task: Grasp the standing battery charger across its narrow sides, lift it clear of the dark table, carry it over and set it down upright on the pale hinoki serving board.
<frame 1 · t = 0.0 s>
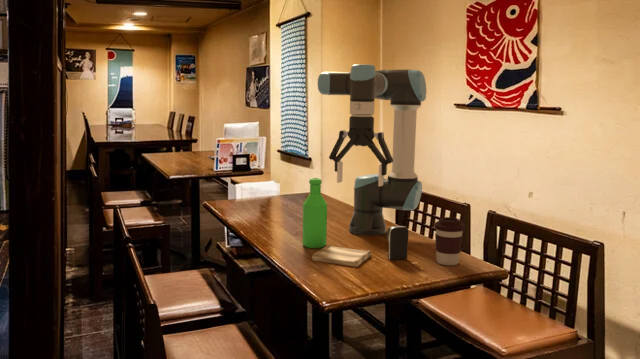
hand: (359, 184, 180), 28 cm above the table, fingers open, 13 cm apart
battery charger: (396, 258, 198), on the table
coffee cup: (447, 263, 194), on the table
bottle: (314, 246, 212), on the table
board: (341, 257, 197), on the table
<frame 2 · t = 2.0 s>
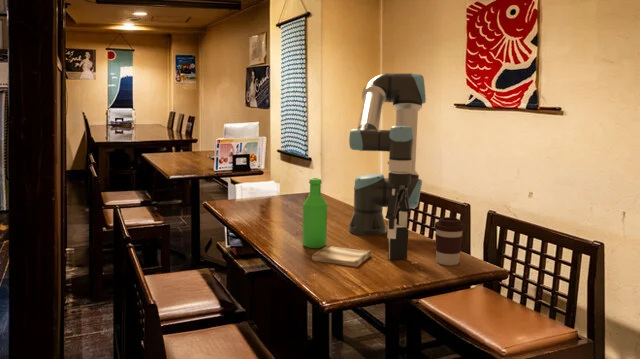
hand: (397, 234, 196), 9 cm above the table, fingers open, 13 cm apart
nothing on the table moved.
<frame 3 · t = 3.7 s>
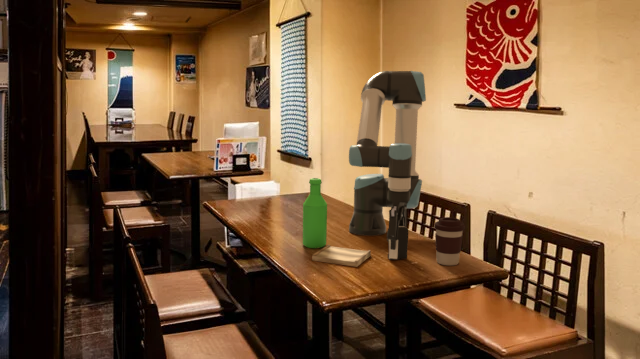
hand: (396, 255, 198), 1 cm above the table, fingers closed on battery charger, 7 cm apart
battery charger: (396, 258, 198), on the table, touching gripper
everything else where it was.
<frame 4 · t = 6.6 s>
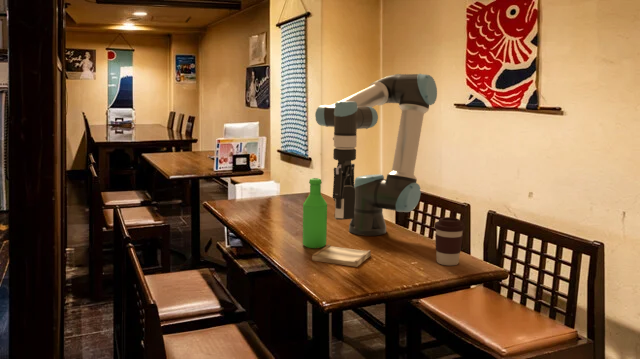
hand: (343, 215, 195), 15 cm above the table, fingers closed on battery charger, 7 cm apart
battery charger: (343, 219, 195), point 14 cm above the table, touching gripper
everything else where it was.
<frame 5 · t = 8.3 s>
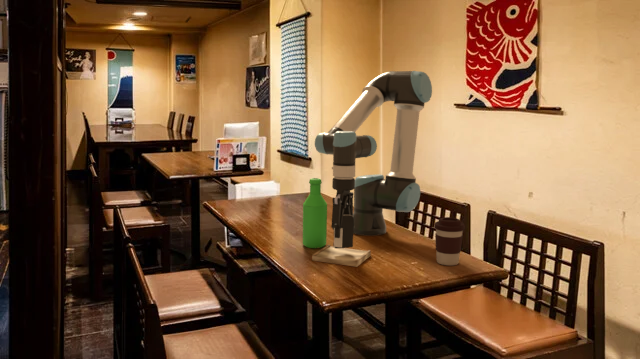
hand: (342, 244, 197), 5 cm above the table, fingers closed on battery charger, 7 cm apart
battery charger: (342, 247, 197), point 4 cm above the table, touching gripper
everything else where it was.
when the fingers open (3 cm above the table, at t = 9.4 s): battery charger stays where it is, resting on board.
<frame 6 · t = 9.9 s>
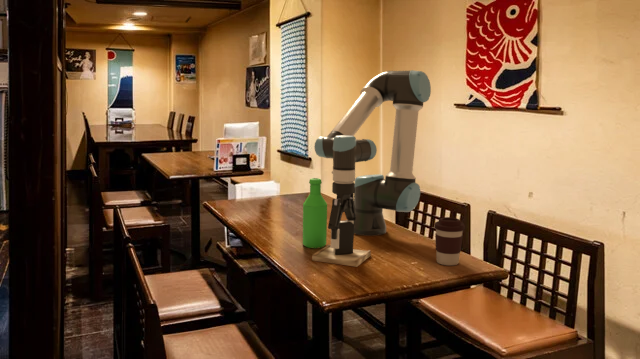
hand: (342, 243, 197), 5 cm above the table, fingers open, 13 cm apart
battery charger: (342, 253, 198), point 1 cm above the table, touching board
everything else where it was.
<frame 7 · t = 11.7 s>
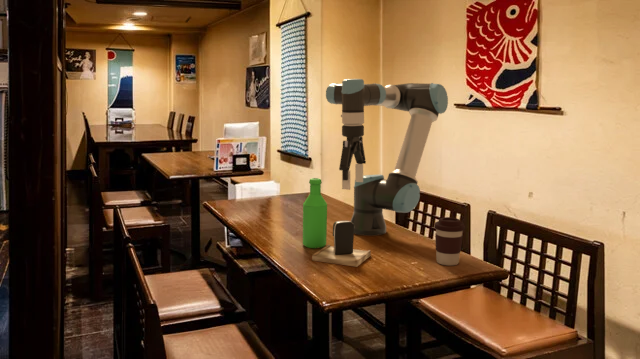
hand: (352, 185, 201), 24 cm above the table, fingers open, 13 cm apart
nothing on the table moved.
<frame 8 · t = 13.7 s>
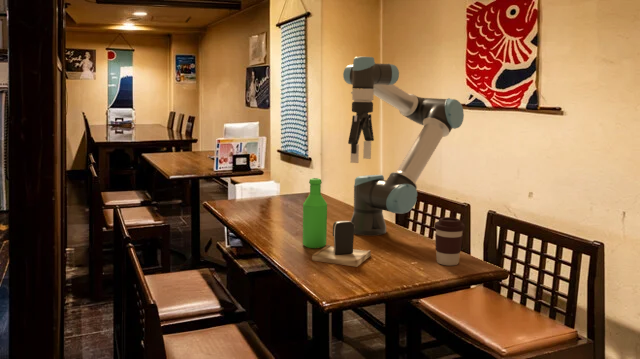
hand: (360, 160, 208), 32 cm above the table, fingers open, 13 cm apart
nothing on the table moved.
at the end: battery charger inside the target area on the board (0.4 cm from its centre), point 1.3 cm above the board's base; battery charger touching board; battery charger tilted 0° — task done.
